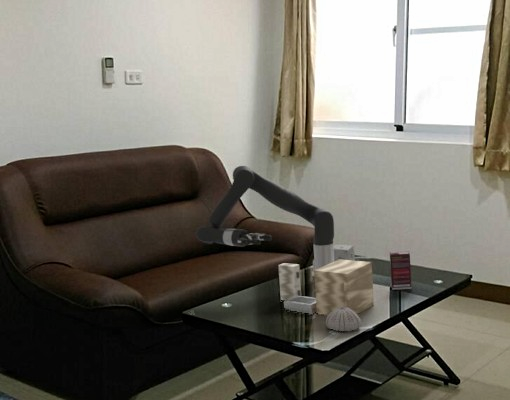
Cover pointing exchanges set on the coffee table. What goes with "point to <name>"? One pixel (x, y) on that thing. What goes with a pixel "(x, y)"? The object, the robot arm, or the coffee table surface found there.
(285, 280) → the beige upright rectangular block
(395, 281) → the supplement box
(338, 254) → the incense holder
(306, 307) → the grey rectangular tray
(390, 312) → the coffee table surface
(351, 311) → the sea urchin shell
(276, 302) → the coffee table surface
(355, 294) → the patterned beige box
